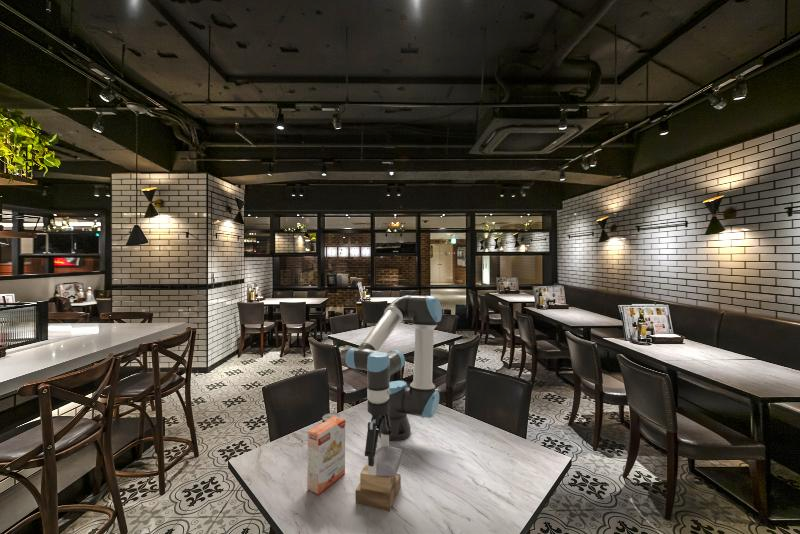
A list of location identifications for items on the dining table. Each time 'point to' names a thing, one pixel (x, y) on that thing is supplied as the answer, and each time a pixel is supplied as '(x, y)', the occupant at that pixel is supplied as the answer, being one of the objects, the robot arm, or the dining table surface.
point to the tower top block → (375, 481)
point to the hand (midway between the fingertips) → (379, 463)
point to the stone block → (388, 460)
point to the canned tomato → (329, 416)
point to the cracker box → (326, 454)
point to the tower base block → (378, 496)
